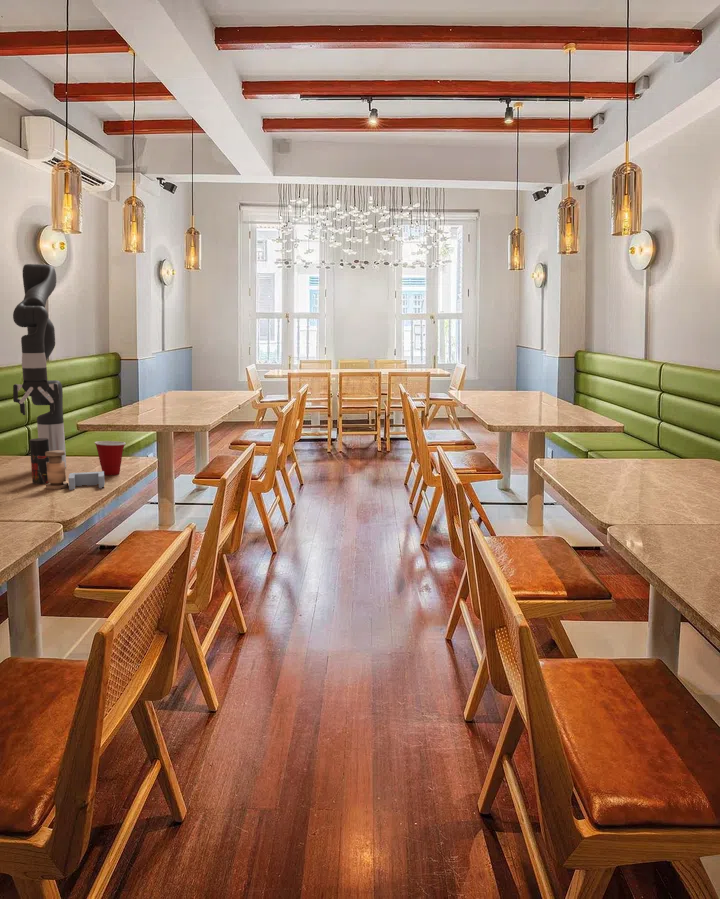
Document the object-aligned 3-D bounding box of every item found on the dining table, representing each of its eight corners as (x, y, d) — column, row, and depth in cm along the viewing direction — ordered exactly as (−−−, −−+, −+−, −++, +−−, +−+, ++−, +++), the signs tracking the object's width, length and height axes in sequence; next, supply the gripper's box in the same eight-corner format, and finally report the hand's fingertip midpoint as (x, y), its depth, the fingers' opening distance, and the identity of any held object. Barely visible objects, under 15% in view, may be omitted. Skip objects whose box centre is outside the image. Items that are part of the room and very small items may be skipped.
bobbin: (46, 485, 252) (44, 450, 250) (68, 484, 255) (66, 449, 253) (45, 490, 246) (42, 454, 244) (67, 488, 248) (65, 453, 246)
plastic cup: (133, 473, 274) (131, 441, 272) (105, 478, 266) (103, 444, 264) (117, 469, 281) (116, 438, 279) (90, 473, 273) (88, 441, 271)
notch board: (70, 484, 254) (69, 473, 254) (104, 482, 258) (103, 471, 257) (69, 490, 246) (68, 478, 245) (104, 487, 249) (103, 476, 249)
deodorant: (35, 480, 260) (33, 438, 258) (53, 480, 261) (50, 438, 259) (29, 484, 255) (26, 440, 252) (47, 484, 255) (45, 440, 253)
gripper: (57, 365, 257) (60, 412, 259) (12, 365, 252) (16, 413, 255) (56, 366, 250) (59, 415, 252) (9, 367, 245) (13, 416, 248)
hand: (37, 414), depth 254 cm, fingers open, 8 cm apart
